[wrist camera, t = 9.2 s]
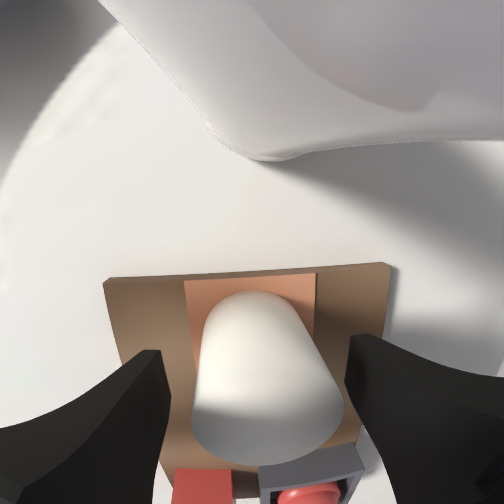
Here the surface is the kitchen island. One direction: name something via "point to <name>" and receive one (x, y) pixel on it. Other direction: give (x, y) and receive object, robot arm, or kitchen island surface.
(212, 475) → the red block with knob
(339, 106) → the drinking glass
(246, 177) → the kitchen island surface
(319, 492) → the pop dome
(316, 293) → the game board
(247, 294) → the ivory pawn
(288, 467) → the pop dome base
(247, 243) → the kitchen island surface
